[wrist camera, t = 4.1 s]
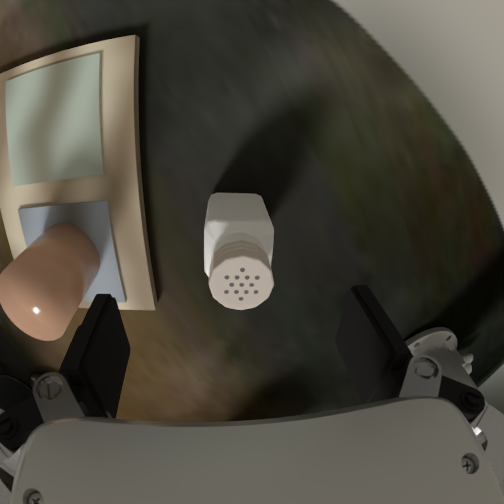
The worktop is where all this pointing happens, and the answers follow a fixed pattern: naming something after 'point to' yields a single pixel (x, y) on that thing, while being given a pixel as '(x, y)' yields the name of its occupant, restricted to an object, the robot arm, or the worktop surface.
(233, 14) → the worktop surface
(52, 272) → the peach rounded cylinder
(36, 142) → the board
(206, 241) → the salt shaker
